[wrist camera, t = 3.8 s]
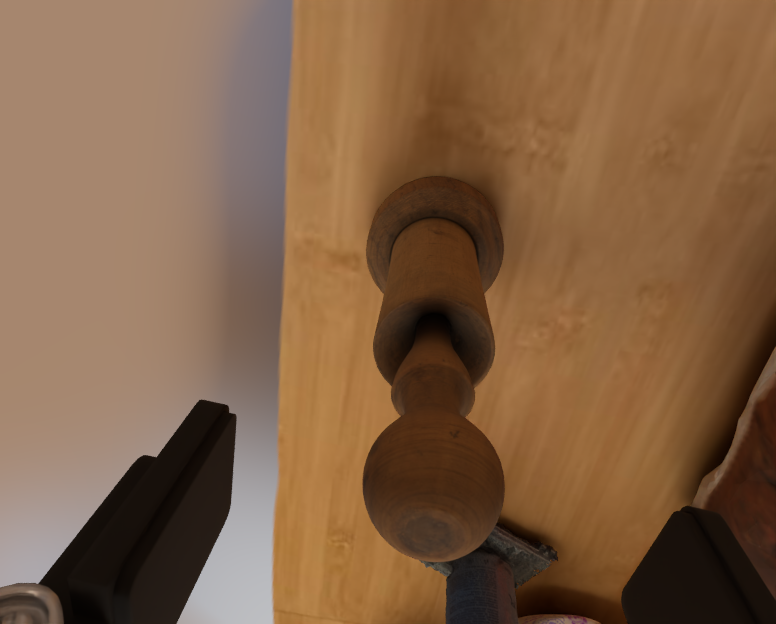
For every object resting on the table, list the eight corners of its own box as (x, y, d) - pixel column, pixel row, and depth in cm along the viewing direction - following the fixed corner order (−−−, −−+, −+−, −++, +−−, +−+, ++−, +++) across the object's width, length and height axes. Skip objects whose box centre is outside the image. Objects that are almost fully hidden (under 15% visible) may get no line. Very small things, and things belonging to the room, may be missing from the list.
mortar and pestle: (405, 314, 27) (362, 662, 11) (348, 212, 25) (193, 471, 9) (518, 265, 26) (656, 600, 10) (467, 151, 23) (538, 339, 7)
